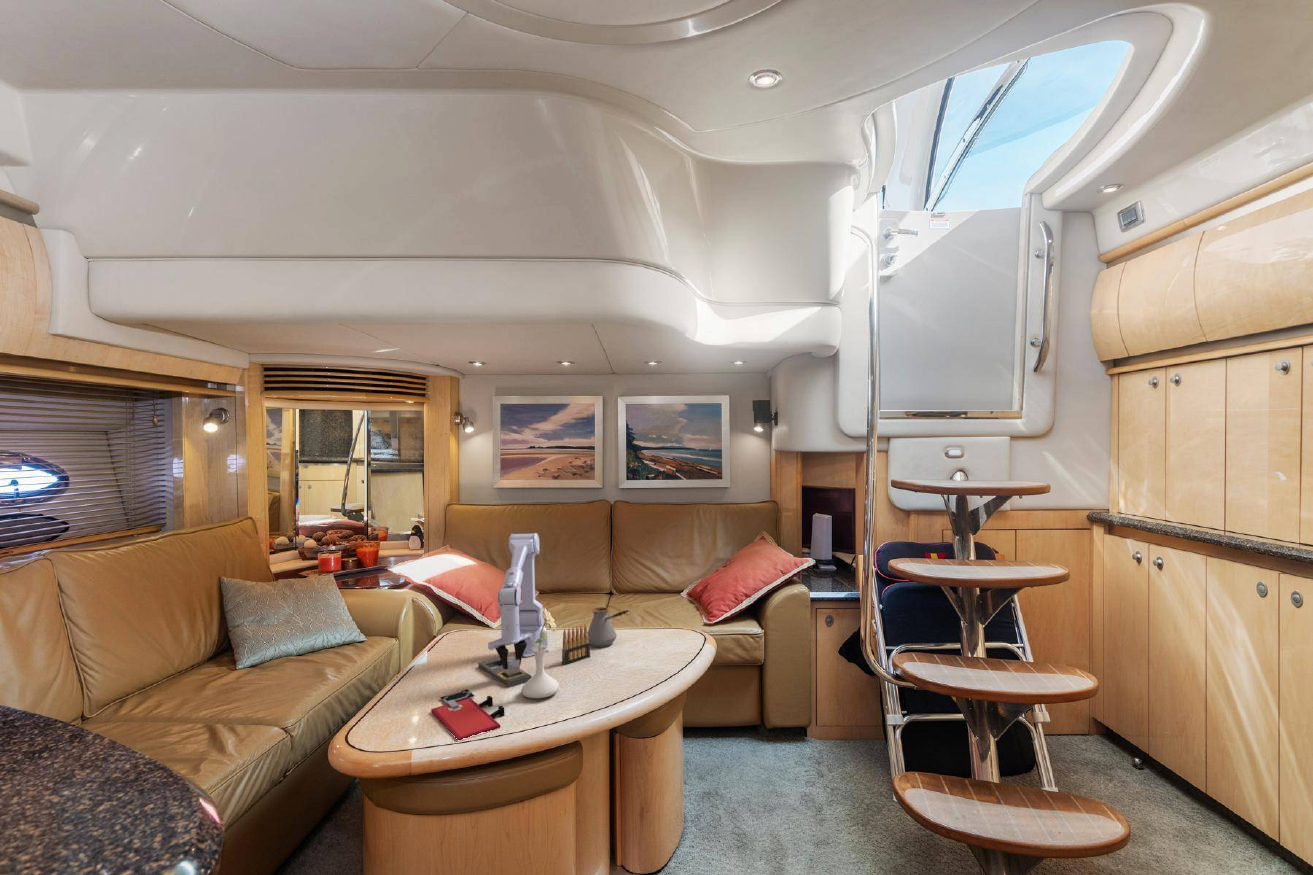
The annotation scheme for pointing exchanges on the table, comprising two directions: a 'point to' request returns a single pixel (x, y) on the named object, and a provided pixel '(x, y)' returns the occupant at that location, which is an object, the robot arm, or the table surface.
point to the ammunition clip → (575, 645)
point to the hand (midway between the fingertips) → (511, 666)
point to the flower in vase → (541, 667)
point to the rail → (498, 673)
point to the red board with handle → (466, 714)
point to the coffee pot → (602, 627)
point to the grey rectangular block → (512, 667)
